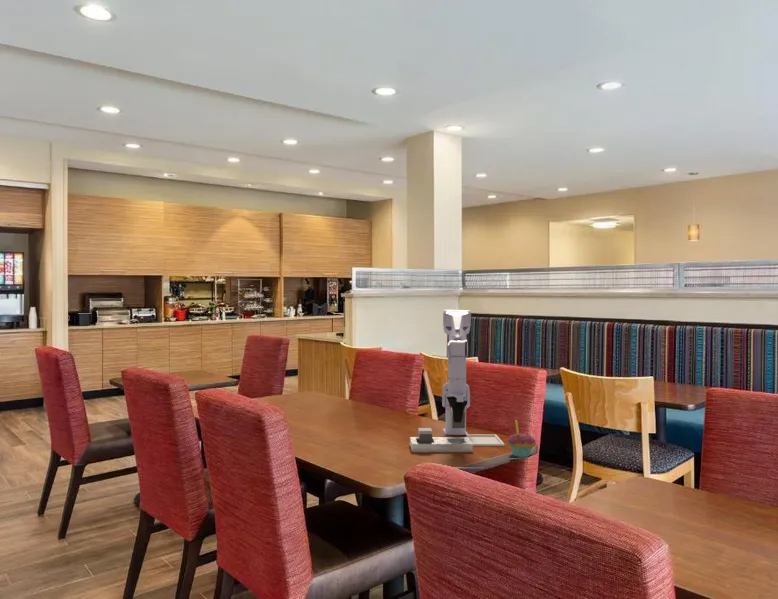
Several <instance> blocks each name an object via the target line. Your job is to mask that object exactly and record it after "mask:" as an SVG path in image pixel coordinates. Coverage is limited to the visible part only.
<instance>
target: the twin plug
mask: <svg viewBox="0 0 778 599" xmlns="http://www.w3.org/2000/svg"><path fill="white" fill-rule="evenodd" d="M417 429H418V430H417V432H418V433H417V434H418V436H417V437H418V443H432V437H433V430H432V428H431V427H418V428H417Z"/></svg>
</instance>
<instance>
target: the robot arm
mask: <svg viewBox="0 0 778 599" xmlns="http://www.w3.org/2000/svg"><path fill="white" fill-rule="evenodd" d="M442 314H443V315H442V316H443V317H442V325H443V331H444V334H447V335H448V342H447V343H446V357H447V372H448V374H447V382H445V383H444V384H443V386H442V391H441V392H442V394H441V399H442V400H441V404H442V407H443V408H445V428H443V427H442V431H443V432H444V434H445V435H451V436H452V435H459V436H461V435H466V434H469V433H468V432H467V431H466V430H467V429H466V428H467V409H468V408H469V407H471V391H470V389H471V388H470V386H469V384H467V358H468V354H469V342H468V339H467V335H468V334H470V331H471V324H472V311H471V310H470V309H446V308H445V309H444V310H443V313H442ZM451 407H452V411H453V419H454V422H461V421H462V416H463V412H464V409H465V428H452V427H451Z"/></svg>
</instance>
